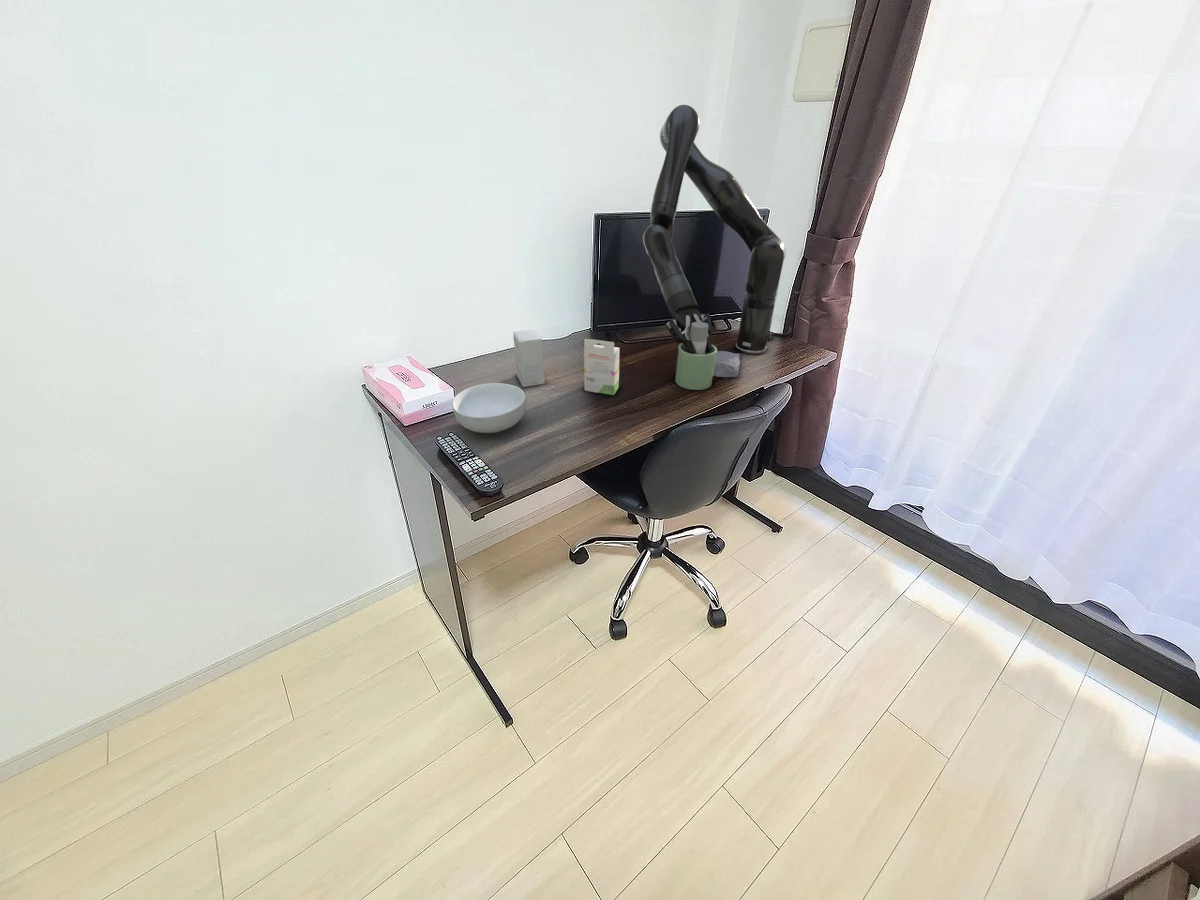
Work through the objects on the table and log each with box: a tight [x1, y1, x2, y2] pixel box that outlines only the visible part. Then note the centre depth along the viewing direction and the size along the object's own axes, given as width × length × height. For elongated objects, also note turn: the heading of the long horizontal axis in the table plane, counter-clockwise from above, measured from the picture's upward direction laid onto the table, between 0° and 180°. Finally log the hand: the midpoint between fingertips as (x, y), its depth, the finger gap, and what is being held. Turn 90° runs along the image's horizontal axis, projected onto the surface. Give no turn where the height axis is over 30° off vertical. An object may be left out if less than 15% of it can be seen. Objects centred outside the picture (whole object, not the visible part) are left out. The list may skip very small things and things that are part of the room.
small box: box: [513, 329, 546, 388], centre depth 136 cm, size 8×6×13 cm
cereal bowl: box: [451, 382, 527, 434], centre depth 117 cm, size 17×17×7 cm
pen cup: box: [674, 343, 718, 391], centre depth 137 cm, size 10×10×10 cm
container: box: [690, 322, 709, 355], centre depth 135 cm, size 5×5×15 cm
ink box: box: [583, 338, 621, 396], centre depth 131 cm, size 9×5×15 cm, turn 71°
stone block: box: [713, 350, 741, 379], centre depth 146 cm, size 12×5×10 cm
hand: (701, 352), depth 133 cm, fingers closed on container, 4 cm apart
